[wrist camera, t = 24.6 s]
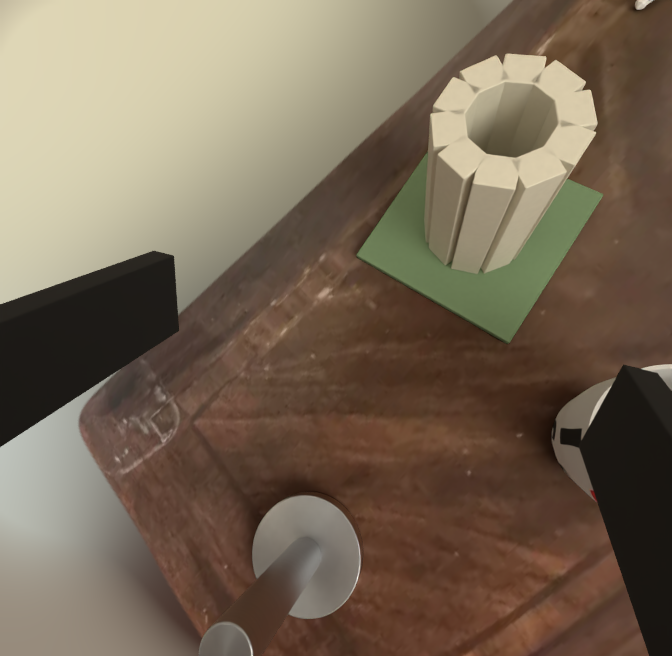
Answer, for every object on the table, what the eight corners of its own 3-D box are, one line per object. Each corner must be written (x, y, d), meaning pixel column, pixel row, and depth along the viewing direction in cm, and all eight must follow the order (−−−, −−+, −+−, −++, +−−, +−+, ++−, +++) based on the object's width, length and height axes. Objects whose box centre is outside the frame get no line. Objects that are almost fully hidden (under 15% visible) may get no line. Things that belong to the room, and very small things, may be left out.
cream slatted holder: (405, 244, 33) (401, 149, 21) (458, 166, 34) (482, 33, 22) (493, 292, 31) (542, 215, 19) (548, 207, 31) (627, 84, 20)
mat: (356, 257, 34) (355, 254, 33) (444, 130, 35) (445, 125, 35) (507, 344, 30) (509, 343, 30) (600, 198, 31) (604, 194, 31)
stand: (239, 558, 30) (102, 669, 17) (298, 469, 31) (211, 507, 18) (322, 635, 28) (240, 832, 15) (384, 538, 29) (360, 641, 15)
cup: (506, 412, 29) (553, 408, 20) (610, 363, 29) (710, 335, 19) (570, 523, 27) (658, 580, 17) (684, 472, 26) (840, 503, 17)
